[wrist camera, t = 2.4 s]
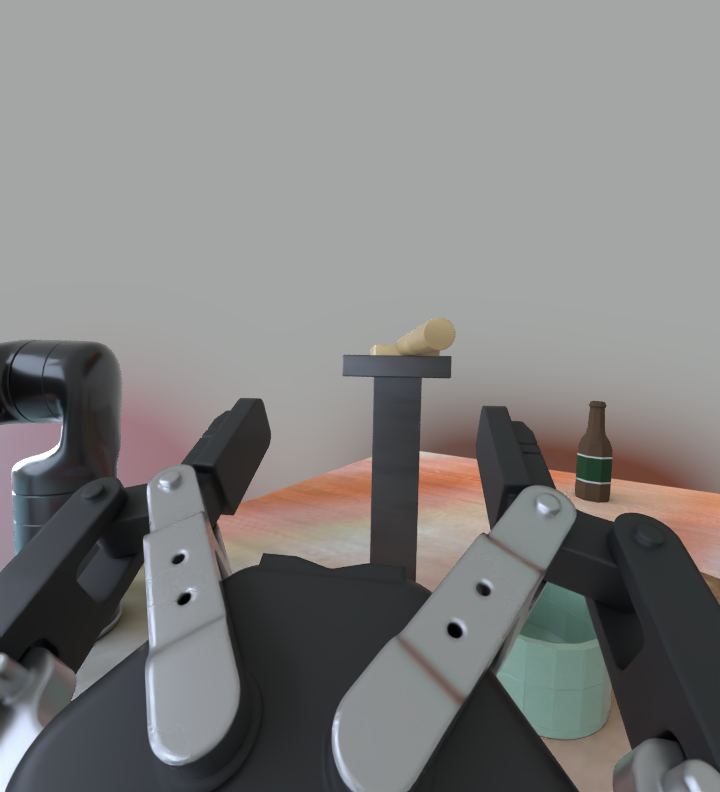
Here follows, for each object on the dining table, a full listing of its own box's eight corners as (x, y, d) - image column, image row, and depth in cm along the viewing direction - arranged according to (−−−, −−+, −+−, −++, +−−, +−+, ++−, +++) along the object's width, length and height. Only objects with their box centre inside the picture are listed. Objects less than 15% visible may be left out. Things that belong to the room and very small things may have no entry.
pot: (425, 655, 39) (428, 584, 38) (501, 605, 47) (504, 546, 47) (567, 778, 27) (573, 679, 27) (633, 682, 36) (639, 606, 35)
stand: (356, 600, 48) (361, 359, 46) (432, 608, 46) (441, 360, 44) (338, 675, 36) (342, 354, 34) (439, 690, 35) (451, 356, 32)
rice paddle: (370, 358, 43) (370, 340, 43) (424, 359, 43) (424, 341, 43) (391, 349, 24) (391, 316, 24) (486, 351, 24) (487, 318, 24)
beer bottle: (602, 505, 84) (609, 403, 83) (567, 495, 91) (573, 400, 89) (615, 498, 89) (622, 402, 87) (581, 490, 95) (587, 400, 94)
